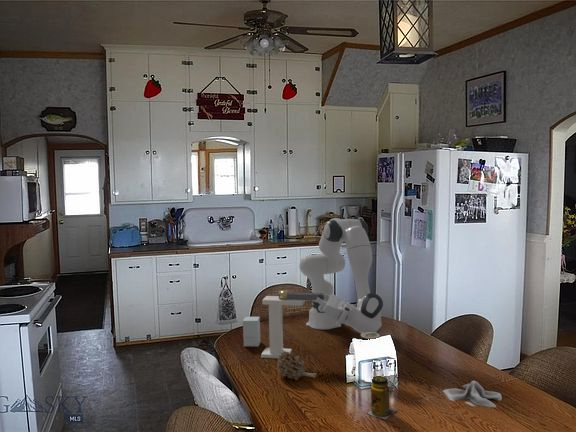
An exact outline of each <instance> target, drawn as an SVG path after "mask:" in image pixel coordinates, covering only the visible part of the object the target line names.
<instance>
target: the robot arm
mask: <svg viewBox="0 0 576 432" xmlns="http://www.w3.org/2000/svg"><path fill="white" fill-rule="evenodd" d="M368 235H369V226H368V224H367V222H366V221H365V220H364V219H361V218H356V219H354V218H338V217H334V218H331V219H329V220H328V221H326V222H325V223H324V226H323V231H322V235H321V237H320V240H319V241H318V242H319V243H318V248H319V251H320V252H321V253H317V254H316V253H315V254H308V255H305V256H303V257H302V258H301V259H300V260H299V265H298V266H299V267H298V268H299V271H300V272H301V273H302V275H304V276H305V277H307V279H308V280H309V282H310V284H311V289H312V292H311V293H323V294H324V301H323V300H321V298H319V297H317V299H316V300H311V308H310V309H309V311H308V315H309V316H308V321H307V322H305V326H307V327H310V328H312V329H316V330H332V329H336V328H341V327H342V324H343V325H345V326H349V327H351V329H352V328H353V330H354V331H356V332H357V333H359V334H360V335H361V334H362V333H365V332H374V333H378V334H379V332H380V330H381V329H382V327H383V323H382V312H383V307H384V301H383V299H382V297H381V296H380V295H379V294H377V293H375V292H371V290H370V289H371V288H370V285H369V272H370V269H371V266H372V263H373V251H372V246H371V242H370V239H369V236H368ZM343 243H345V249H346V253H347V257H348V261H349V265H350V268H351V271H352V272H351V273H352V275H353V281H354V287H355V294H356V304H355V305H353V304H352V303H350V302H348V301H345V300H343V299H342V298H340V297H339V296H337V295H335V294H334V286H333V284H332V283H331V282H330V281H328V280H326V279H325V276H324V275H330V274H336V273H339V272H342V271H344V269H345V267H346V260H345V256H343V254H341V253H340V251H341V248H342V245H343Z"/></svg>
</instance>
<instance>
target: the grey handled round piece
mask: <svg viewBox="0 0 576 432" xmlns="http://www.w3.org/2000/svg"><path fill="white" fill-rule="evenodd" d="M276 359H277V360H276V361H277V362H276V365H277V367H276V369H277V371H278V372H279V373H281V375H282V376H283V377H286V376H287V379H289V380H292V379H294V380H295V381H298V380H299V379H300V378H302V377H303V376H305V377H310V378H317V375H318V374H317V372H313V373H312V372H311V373H310V372H306V369H307V367H306V362H305V360H302V358H301V357H300V356H299V355H296V353H294V352H291V353H289V352H284V353H282V354H281V355H280V356H279V358H276Z"/></svg>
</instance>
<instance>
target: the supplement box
mask: <svg viewBox="0 0 576 432" xmlns="http://www.w3.org/2000/svg"><path fill="white" fill-rule="evenodd" d="M242 333H243V334H242V335H243V347H259V346H260V345H261V341H262V340H261V316H245V317H244V318H243V320H242Z"/></svg>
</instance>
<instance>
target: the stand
mask: <svg viewBox="0 0 576 432" xmlns="http://www.w3.org/2000/svg"><path fill="white" fill-rule="evenodd" d="M261 302H262V303H261V304H262V306H264V305H268V330H269V331H268V332H269V333H268V334H269V347H265V349H264V350H262V353H261V354H260V358H264V359H278V358H279V356H280V355H281V354H282V353H284V352H289V353H291V352H292V348H284V331H283V330H284V329H283V327H284V326H283V306H292V307H293V306H297V307H298V306H300V307H303V305H304V304H305V303H306V300H289V299H286V300H281V299H279V295H266V296H265V297H263V299H262V300H261Z"/></svg>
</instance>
